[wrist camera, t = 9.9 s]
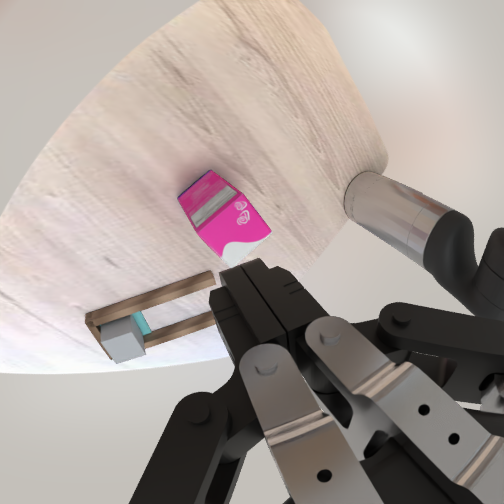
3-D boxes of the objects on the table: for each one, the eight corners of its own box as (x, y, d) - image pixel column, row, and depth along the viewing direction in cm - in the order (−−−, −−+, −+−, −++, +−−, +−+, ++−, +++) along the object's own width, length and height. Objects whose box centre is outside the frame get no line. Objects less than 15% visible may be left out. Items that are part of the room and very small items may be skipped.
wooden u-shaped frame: (210, 270, 42) (214, 277, 41) (222, 312, 47) (226, 320, 45) (85, 313, 38) (84, 322, 36) (110, 350, 42) (110, 359, 41)
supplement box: (237, 199, 39) (275, 234, 30) (203, 227, 39) (229, 272, 30) (211, 166, 35) (243, 193, 26) (175, 197, 35) (193, 235, 26)
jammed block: (129, 311, 40) (131, 332, 36) (142, 334, 42) (145, 354, 39) (100, 321, 39) (100, 342, 35) (115, 343, 41) (116, 363, 38)
